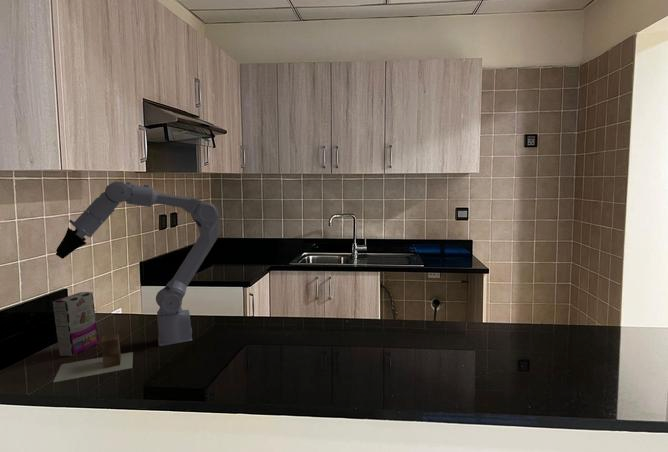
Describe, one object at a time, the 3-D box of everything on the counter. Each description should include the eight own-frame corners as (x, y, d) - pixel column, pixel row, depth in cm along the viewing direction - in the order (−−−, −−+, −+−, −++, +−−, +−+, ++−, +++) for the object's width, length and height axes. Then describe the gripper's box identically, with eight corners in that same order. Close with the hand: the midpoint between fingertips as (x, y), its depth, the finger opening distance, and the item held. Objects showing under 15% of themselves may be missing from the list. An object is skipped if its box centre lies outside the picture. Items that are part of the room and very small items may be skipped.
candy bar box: (85, 344, 149) (79, 291, 148) (99, 344, 148) (93, 291, 147) (57, 356, 138) (51, 300, 137) (72, 357, 137) (66, 300, 136)
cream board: (133, 352, 138) (133, 351, 138) (132, 368, 125) (132, 367, 125) (61, 364, 131) (61, 364, 131) (53, 383, 118) (53, 382, 118)
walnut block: (121, 358, 133) (118, 333, 132) (120, 365, 127) (117, 339, 127) (105, 361, 132) (102, 335, 131) (103, 368, 126) (100, 341, 125)
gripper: (81, 206, 140) (46, 242, 137) (82, 208, 127) (45, 248, 124) (101, 221, 143) (68, 257, 140) (105, 225, 130) (69, 265, 127)
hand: (59, 254), depth 132 cm, fingers open, 7 cm apart
